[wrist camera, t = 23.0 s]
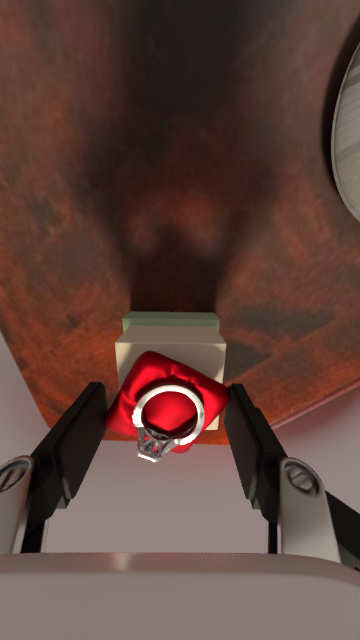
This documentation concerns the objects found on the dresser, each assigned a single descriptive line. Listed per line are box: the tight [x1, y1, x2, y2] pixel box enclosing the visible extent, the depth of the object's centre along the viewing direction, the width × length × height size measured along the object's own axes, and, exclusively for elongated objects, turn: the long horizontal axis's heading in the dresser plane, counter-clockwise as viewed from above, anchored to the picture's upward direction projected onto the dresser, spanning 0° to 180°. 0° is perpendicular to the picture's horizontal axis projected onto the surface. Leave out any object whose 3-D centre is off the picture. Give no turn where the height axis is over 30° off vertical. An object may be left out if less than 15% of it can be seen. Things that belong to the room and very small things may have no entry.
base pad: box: [123, 311, 220, 332], centre depth 16 cm, size 8×8×2 cm
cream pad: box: [115, 325, 226, 430], centre depth 13 cm, size 7×7×4 cm
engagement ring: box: [105, 351, 230, 463], centre depth 9 cm, size 6×6×3 cm
